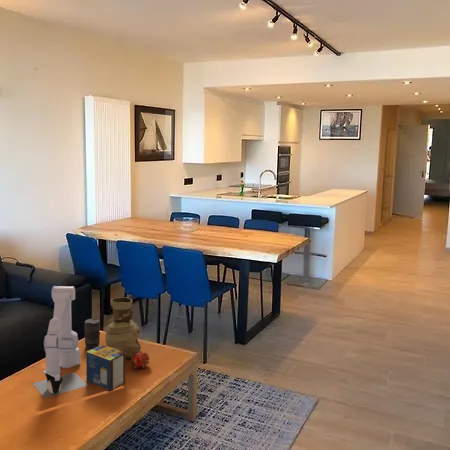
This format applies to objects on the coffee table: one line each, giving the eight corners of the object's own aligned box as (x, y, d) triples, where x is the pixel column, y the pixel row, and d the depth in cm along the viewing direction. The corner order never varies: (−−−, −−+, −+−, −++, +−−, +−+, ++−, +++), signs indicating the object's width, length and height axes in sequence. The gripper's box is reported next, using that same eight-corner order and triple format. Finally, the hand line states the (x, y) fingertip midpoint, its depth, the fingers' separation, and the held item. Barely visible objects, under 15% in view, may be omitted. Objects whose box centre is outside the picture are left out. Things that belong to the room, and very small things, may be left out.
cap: (58, 386, 224) (58, 376, 224) (61, 391, 220) (61, 381, 219) (47, 388, 222) (47, 379, 221) (50, 394, 217) (49, 384, 217)
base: (74, 374, 239) (74, 365, 238) (88, 387, 226) (88, 378, 226) (32, 385, 226) (32, 376, 225) (44, 400, 214) (44, 390, 213)
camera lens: (88, 343, 275) (88, 317, 272) (102, 344, 273) (102, 319, 271) (82, 349, 267) (81, 322, 264) (96, 350, 266) (96, 324, 263)
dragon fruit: (149, 365, 254) (134, 377, 245) (138, 353, 256) (122, 365, 246) (156, 356, 250) (140, 368, 240) (144, 344, 252) (129, 355, 242)
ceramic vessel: (151, 350, 269) (152, 297, 264) (126, 364, 251) (126, 308, 246) (123, 342, 278) (124, 291, 273) (97, 355, 259) (97, 301, 254)
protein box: (101, 374, 240) (102, 344, 237) (125, 383, 232) (126, 352, 229) (85, 382, 231) (85, 351, 228) (109, 392, 223) (110, 360, 221)
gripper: (39, 356, 222) (39, 384, 224) (48, 369, 210) (48, 398, 212) (55, 352, 226) (55, 380, 228) (64, 365, 214) (65, 394, 216)
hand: (53, 388), depth 220 cm, fingers open, 7 cm apart
